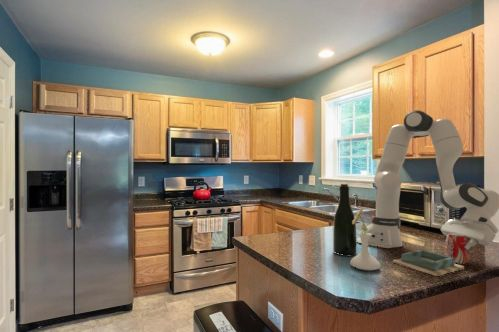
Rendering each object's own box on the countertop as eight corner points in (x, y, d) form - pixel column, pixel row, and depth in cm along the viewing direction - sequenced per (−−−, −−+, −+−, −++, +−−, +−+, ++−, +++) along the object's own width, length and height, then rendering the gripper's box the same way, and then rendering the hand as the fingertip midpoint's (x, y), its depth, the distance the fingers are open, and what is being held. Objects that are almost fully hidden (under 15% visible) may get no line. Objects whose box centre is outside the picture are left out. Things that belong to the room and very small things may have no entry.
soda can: (443, 259, 125) (442, 232, 125) (458, 259, 126) (458, 232, 126) (456, 265, 118) (455, 236, 118) (472, 264, 119) (471, 235, 119)
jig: (436, 277, 105) (436, 265, 105) (393, 263, 121) (392, 253, 121) (464, 269, 113) (463, 258, 113) (419, 256, 130) (419, 247, 130)
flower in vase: (355, 261, 124) (355, 203, 124) (384, 267, 116) (383, 205, 117) (344, 269, 114) (343, 207, 114) (374, 276, 106) (373, 209, 107)
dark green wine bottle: (334, 249, 142) (333, 183, 143) (356, 251, 139) (356, 183, 139) (332, 255, 133) (331, 184, 133) (356, 257, 129) (355, 184, 129)
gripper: (447, 213, 134) (430, 235, 131) (494, 221, 114) (475, 247, 112) (455, 222, 135) (438, 244, 133) (503, 231, 115) (484, 257, 113)
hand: (456, 245), depth 122 cm, fingers closed on soda can, 7 cm apart
